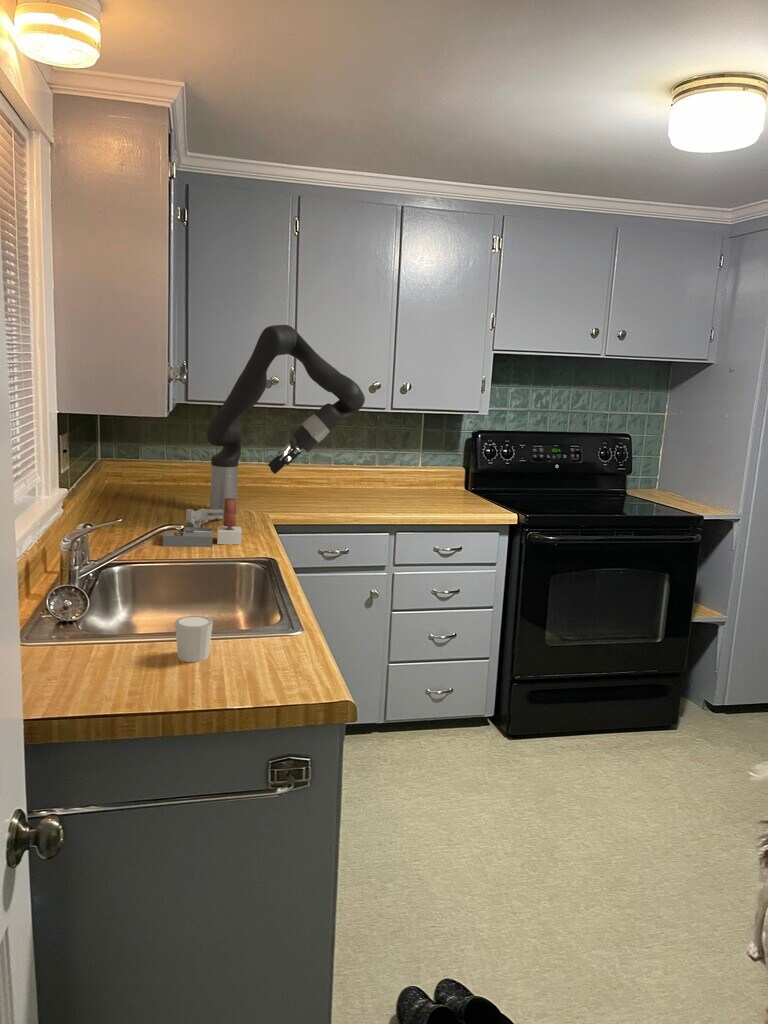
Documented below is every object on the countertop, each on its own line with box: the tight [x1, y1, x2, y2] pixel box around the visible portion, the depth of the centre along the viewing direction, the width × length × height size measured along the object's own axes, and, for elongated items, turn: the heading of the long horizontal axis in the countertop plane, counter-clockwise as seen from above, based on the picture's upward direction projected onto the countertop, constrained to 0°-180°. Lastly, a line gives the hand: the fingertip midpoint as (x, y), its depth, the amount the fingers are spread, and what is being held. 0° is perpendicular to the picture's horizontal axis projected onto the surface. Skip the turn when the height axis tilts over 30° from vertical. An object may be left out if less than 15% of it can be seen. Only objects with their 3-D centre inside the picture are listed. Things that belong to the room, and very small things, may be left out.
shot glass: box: [175, 615, 214, 663], centre depth 145 cm, size 7×7×7 cm
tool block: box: [216, 525, 243, 546], centre depth 232 cm, size 7×7×4 cm
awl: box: [223, 498, 237, 530], centre depth 231 cm, size 3×3×13 cm
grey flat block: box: [162, 526, 214, 548], centre depth 230 cm, size 12×14×3 cm
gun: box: [185, 508, 224, 527], centre depth 249 cm, size 2×30×8 cm, turn 172°
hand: (271, 469), depth 231 cm, fingers open, 8 cm apart
